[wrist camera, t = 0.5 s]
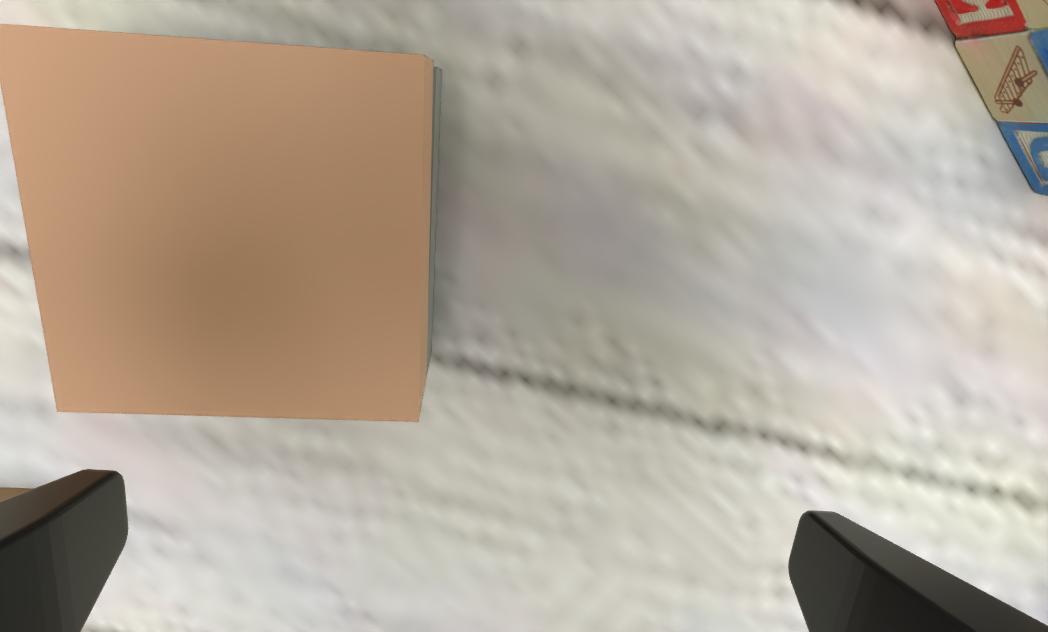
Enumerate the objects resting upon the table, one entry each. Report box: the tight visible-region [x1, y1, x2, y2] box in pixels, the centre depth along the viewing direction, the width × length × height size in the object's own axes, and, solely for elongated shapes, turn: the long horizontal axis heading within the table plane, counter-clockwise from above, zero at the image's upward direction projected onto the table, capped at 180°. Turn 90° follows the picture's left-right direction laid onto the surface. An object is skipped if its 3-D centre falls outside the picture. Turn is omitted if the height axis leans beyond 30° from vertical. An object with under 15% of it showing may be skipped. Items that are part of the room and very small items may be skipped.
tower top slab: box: [0, 24, 434, 422], centre depth 17 cm, size 9×9×3 cm
